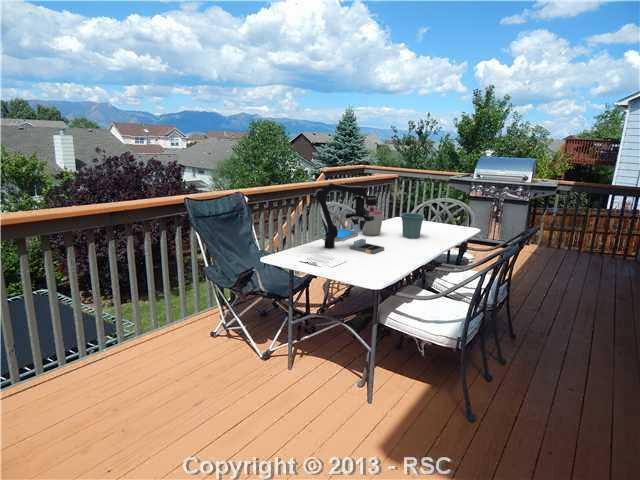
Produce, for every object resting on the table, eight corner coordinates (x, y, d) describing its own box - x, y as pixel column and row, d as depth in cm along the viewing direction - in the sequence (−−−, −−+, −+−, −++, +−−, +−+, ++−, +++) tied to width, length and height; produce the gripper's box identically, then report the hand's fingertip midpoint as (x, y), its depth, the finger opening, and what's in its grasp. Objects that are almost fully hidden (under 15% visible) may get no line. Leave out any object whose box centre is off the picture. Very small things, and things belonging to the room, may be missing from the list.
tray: (312, 253, 256) (312, 247, 255) (349, 263, 240) (349, 257, 239) (290, 260, 240) (290, 254, 239) (329, 272, 224) (329, 265, 223)
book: (358, 230, 299) (343, 237, 278) (358, 236, 300) (343, 243, 279) (337, 228, 307) (321, 234, 286) (337, 233, 308) (321, 240, 287)
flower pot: (421, 234, 305) (422, 213, 301) (424, 239, 289) (426, 217, 285) (398, 233, 306) (400, 212, 302) (400, 239, 290) (402, 216, 286)
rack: (372, 256, 248) (373, 251, 247) (348, 250, 260) (348, 245, 259) (384, 251, 258) (384, 247, 257) (360, 246, 270) (360, 242, 269)
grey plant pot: (384, 237, 295) (385, 208, 290) (359, 237, 295) (360, 208, 290) (381, 231, 312) (382, 204, 307) (357, 231, 313) (358, 204, 308)
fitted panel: (357, 249, 258) (357, 242, 257) (353, 248, 260) (353, 241, 259) (365, 246, 265) (365, 239, 264) (361, 246, 267) (362, 238, 266)
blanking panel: (357, 233, 258) (357, 225, 257) (353, 232, 260) (353, 224, 259) (365, 230, 265) (365, 223, 264) (361, 230, 267) (361, 222, 266)
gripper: (379, 205, 259) (378, 229, 262) (354, 203, 270) (354, 226, 274) (369, 208, 250) (369, 233, 254) (345, 205, 262) (344, 228, 266)
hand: (359, 230), depth 262 cm, fingers closed on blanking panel, 3 cm apart
